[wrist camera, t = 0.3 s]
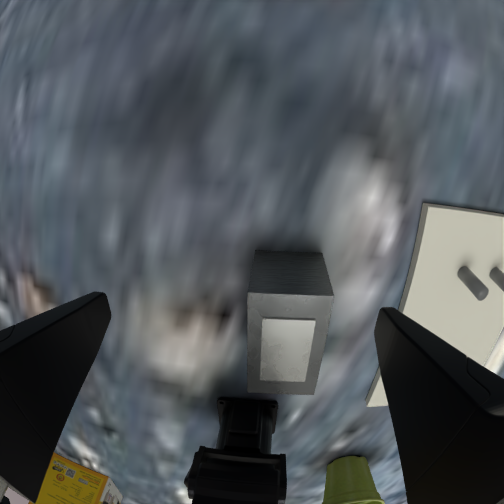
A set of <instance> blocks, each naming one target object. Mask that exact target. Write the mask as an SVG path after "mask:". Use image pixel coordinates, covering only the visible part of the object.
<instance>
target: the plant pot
mask: <svg viewBox="0 0 504 504" xmlns="http://www.w3.org/2000/svg"><path fill="white" fill-rule="evenodd" d="M384 503H385V502H384V500H382V499H381V497H380V494H379V493H378V492H377V490H376V487H375V484H374V481H373V478H372V475H371V472H370V469H369V466H368V463H367V460H366V458H365V457H356V456H347V457H342V458H339V459H336V460H334V461H333V462H332V463H331V464H328V466H327V473H326V483H325V491H324V499H323V503H322V504H384Z"/></svg>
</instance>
